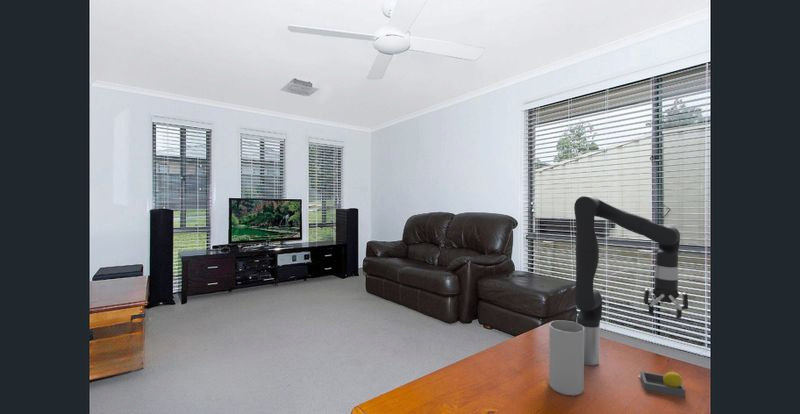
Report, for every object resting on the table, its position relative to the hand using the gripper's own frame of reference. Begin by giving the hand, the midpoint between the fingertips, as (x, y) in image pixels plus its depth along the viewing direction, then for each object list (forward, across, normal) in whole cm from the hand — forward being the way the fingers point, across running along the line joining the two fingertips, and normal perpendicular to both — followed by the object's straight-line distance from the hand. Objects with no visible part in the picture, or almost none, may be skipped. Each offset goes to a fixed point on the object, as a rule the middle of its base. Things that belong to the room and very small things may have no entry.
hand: (664, 316), depth 148 cm
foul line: (+27, -1, +1) cm, 27 cm away
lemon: (+26, +1, -4) cm, 26 cm away
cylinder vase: (+28, -35, -20) cm, 49 cm away
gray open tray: (+27, -1, -4) cm, 28 cm away
